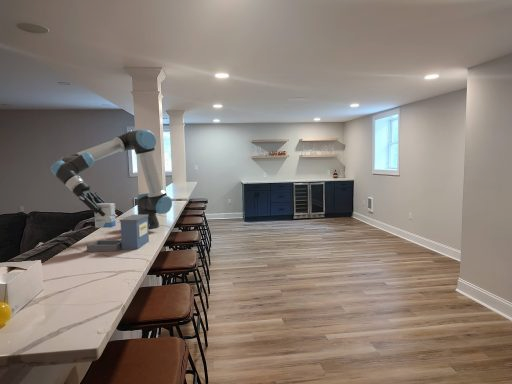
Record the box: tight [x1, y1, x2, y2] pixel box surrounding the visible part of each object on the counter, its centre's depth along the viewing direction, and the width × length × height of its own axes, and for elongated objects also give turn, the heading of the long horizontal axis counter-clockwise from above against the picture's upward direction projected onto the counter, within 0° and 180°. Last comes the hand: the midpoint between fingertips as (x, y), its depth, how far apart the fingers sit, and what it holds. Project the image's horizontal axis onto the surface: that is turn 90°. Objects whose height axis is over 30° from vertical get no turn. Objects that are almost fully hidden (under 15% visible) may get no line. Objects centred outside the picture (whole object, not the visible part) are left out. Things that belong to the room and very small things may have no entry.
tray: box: [86, 239, 122, 252], centre depth 161 cm, size 11×15×3 cm
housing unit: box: [119, 214, 150, 250], centre depth 166 cm, size 17×9×15 cm, turn 179°
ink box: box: [93, 202, 117, 229], centre depth 160 cm, size 9×5×12 cm, turn 87°
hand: (112, 218), depth 160 cm, fingers closed on ink box, 5 cm apart
